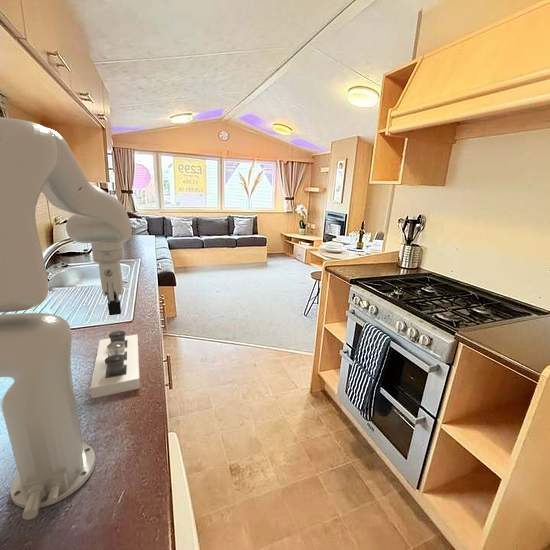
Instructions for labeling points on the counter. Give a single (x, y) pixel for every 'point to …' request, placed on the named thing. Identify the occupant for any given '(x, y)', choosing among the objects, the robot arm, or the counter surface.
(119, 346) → the knob middle
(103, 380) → the panel
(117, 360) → the knob near
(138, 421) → the counter surface
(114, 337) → the knob far
